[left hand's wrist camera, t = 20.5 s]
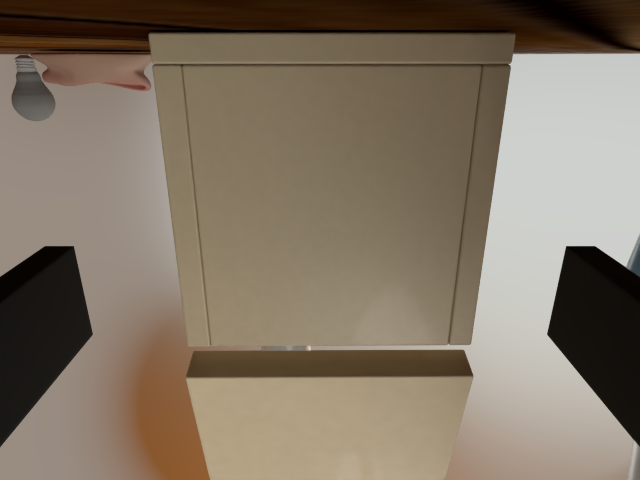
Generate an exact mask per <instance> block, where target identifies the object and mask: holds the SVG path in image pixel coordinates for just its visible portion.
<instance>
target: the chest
mask: <svg viewBox="0 0 640 480" xmlns="http://www.w3.org/2000/svg"><path fill="white" fill-rule="evenodd" d="M514 42H515V33H513V32H150V33H149V43H150V51H151V59H152V62H153V64H154V65H153V67H152V68H153V76H154V84H155V92H156V100H157V108H158V116H159V123H160V131H161V139H162V147H163V155H164V163H165V171H166V179H167V187H168V195H169V203H170V211H171V219H172V227H173V235H174V243H175V251H176V258H177V266H178V274H179V282H180V290H181V298H182V306H183V314H184V322H185V330H186V338H187V345H188V346H210V344H211V345H212V346H352V345H354V346H355V345H447V344H448V343H449V344H450V345H470V344H471V340H472V333H473V326H474V319H475V312H476V305H477V298H478V291H479V284H480V277H481V270H482V263H483V257H484V250H485V243H486V236H487V229H488V222H489V215H490V208H491V201H492V194H493V187H494V180H495V173H496V166H497V159H498V152H499V145H500V138H501V131H502V125H503V118H504V111H505V104H506V97H507V90H508V83H509V76H510V69H511V67H510V65H508V64H510V63H511V62H512V56H513V49H514Z"/></svg>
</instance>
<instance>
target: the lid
mask: <svg viewBox="0 0 640 480" xmlns="http://www.w3.org/2000/svg"><path fill="white" fill-rule="evenodd" d="M472 380H473V373H472V371H471V368H470V365H469V362H468V360H467V357H466V354H465V351H464V350H305V351H194V352H193V354H192V358H191V361H190V365H189V368H188V371H187V375H186V381H187V385H188V390H189V394H190V398H191V402H192V406H193V410H194V415H195V419H196V423H197V427H198V431H199V435H200V439H201V444H202V448H203V452H204V456H205V460H206V465H207V469H208V473H209V477H210V480H445V476H446V473H447V469H448V466H449V462H450V458H451V455H452V451H453V448H454V444H455V441H456V437H457V434H458V430H459V426H460V423H461V419H462V416H463V412H464V409H465V405H466V401H467V398H468V394H469V391H470V387H471V384H472Z"/></svg>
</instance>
